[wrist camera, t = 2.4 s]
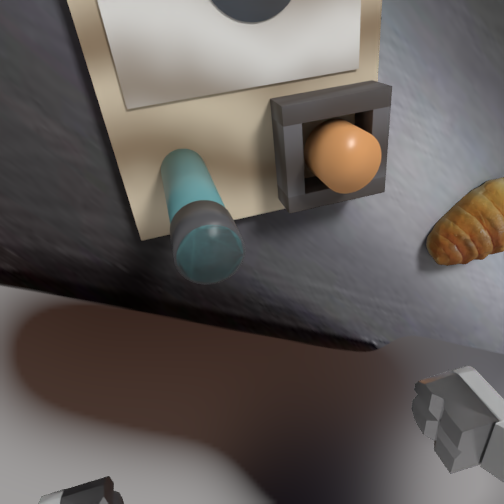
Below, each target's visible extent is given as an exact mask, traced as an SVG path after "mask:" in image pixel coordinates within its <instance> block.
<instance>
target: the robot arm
mask: <svg viewBox="0 0 504 504" xmlns="http://www.w3.org/2000/svg"><path fill="white" fill-rule="evenodd" d="M414 390H415V392H416V393H417V394H418V395H417V396H416V397H415V398H414V399H413V401H412V412H413V415H414V419H415V421H416V423H417V425H418V427H419V428H420V430H421V431H422V433H423V434H424V435H425V436H427V437H428V438H430V439H432V440H434V451H435V452H436V454H437V455H438V456H439V457H440V459H441V461H442V462H443V464H444V465H445V467H446V468H447V469H448V471H449V472H450V474H452V473H455V472H458V471H461V470H464V469H468V468H471V467H474V466H477V465H480V464H481V466H480V467H482V468H483V469H485V470H486V471H488V472H489V473H491V474H492V475H494V476H495V477H497V478H498V479H499V480H501V481H502V482H504V399H503V398H502V397H501V396H500V395H499V394H498V393H497V392H496V391H495V390H494V389H493V388H492V387H491V386H490V384H489V383H488V382H486V380H485V379H484V378H483V377H482V376H481V375H480V374H479V373H478V372H477V371H476V370H475V369H474V368H472V367H470V366H464V367H461V368H458V369H455V370H451V371H447V372H444V373H441V374H438V375H435V376H432V377H429V378H426V379H423V380H420V381H418V382H417V383H416V384H415V388H414ZM113 489H114V483H113V481H112V480H111V478H110V477H109V476H107V477H104V478H101V479H98V480H95V481H91V482H88V483H85V484H81V485H78V486H75V487H72V488H68V489H63V490H60V491H57V492H54V493H51V494H48V495H44V496H42V497H41V499H40V501H39V503H38V504H124V502H123V499H122V497H121V495H120V493H119V492H116V491H114V490H113Z"/></svg>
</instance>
